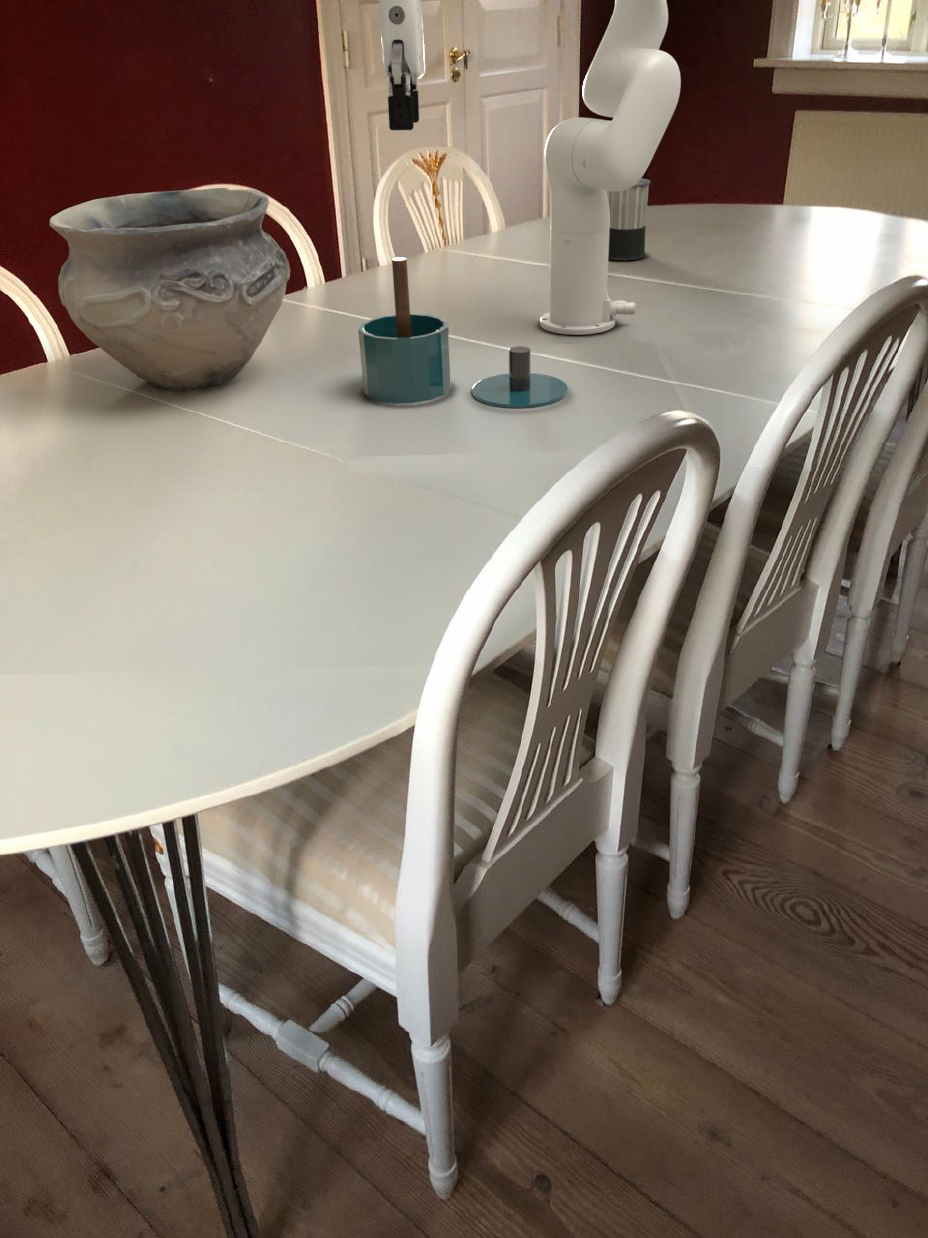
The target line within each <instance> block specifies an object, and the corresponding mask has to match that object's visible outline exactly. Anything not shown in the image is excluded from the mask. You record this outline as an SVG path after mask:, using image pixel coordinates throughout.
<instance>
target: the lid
mask: <svg viewBox="0 0 928 1238" xmlns="http://www.w3.org/2000/svg"><path fill="white" fill-rule="evenodd" d="M568 389H569V387H568V385H567V384H566V382H565V381H564V380H562V379H560V378H557V377H554V376H552V375H547V374H542V373H533V372H531V348H530V347H528V346H523V345H521V346H520V345H519V346H512V347H510V348H509V349H508V373H502V374H496V375H492V376H489V377H486V378H483V379H480V380H479V381H477V382H476V383H475V384H474V385H473V386H472V389H471V394H472V396H473V398H474V399H475V400H477V401H479V402H481V403H482V404H485V405H489V406H492V407H496V408H497V407H499V408H505V409H506V408H507V409H529V408H530V409H531V408H538V407H544V406H547V405H551V404H554V403H557V402H559V401H562V400H563V399H564V398H565V397H567V395H568Z"/></svg>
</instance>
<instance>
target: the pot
mask: <svg viewBox="0 0 928 1238" xmlns="http://www.w3.org/2000/svg"><path fill="white" fill-rule="evenodd" d="M410 322H411V337H400V338H397V328H396V313H395V314H388V315H381V316H378V317H374V318H371V319H368V320H366V321H364V322H363V323H361V324H359V327H358V342H359V343H358V344H359V354H360V364H361V376H362V387H363V393H364V394H365V396H367V397H368V398H369V399H372V400H375V401H378V402H383V403H390V404H391V403H392V404H415V403H420V402H421V403H422V402H426V401H427V402H428V401H432V400H435V399H437V398H440V397H443V396H445V395H446V394H447V393H449V392H450V391H451V389H452V388H451V387H452V381H451V380H452V376H451V358H450V357H451V354H450V331H449V329H450V327H449V321H447V320H446V319H444V318H443V317H440V316H436V315H432V314H424V313H410Z"/></svg>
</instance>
